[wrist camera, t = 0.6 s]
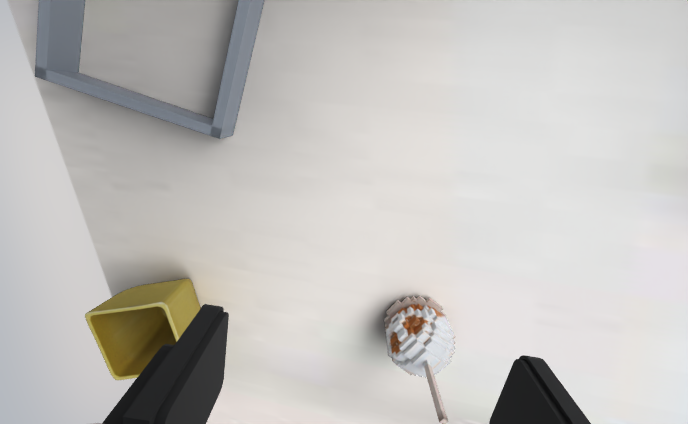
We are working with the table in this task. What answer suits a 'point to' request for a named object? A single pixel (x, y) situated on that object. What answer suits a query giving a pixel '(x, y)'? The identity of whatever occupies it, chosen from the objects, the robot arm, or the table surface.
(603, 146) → the table surface
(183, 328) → the flower pot
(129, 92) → the box
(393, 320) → the decorative ornament
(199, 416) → the robot arm
